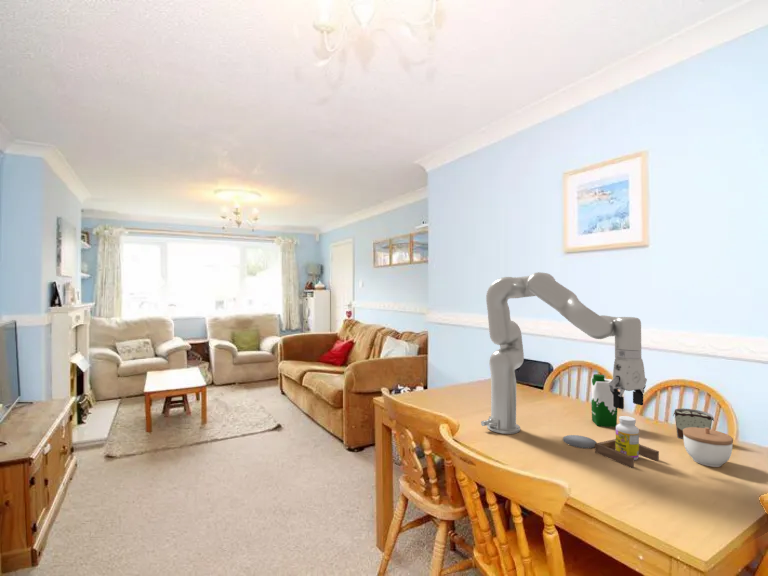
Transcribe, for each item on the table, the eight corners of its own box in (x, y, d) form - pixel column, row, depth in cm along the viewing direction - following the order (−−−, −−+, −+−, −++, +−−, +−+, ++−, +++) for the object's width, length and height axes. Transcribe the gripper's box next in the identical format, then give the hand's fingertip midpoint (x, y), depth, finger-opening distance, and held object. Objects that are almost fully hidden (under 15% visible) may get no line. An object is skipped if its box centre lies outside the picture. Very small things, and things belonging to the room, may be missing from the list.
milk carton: (589, 419, 170) (589, 372, 170) (612, 421, 168) (612, 373, 168) (595, 426, 161) (595, 377, 161) (620, 428, 160) (620, 378, 160)
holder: (631, 467, 125) (631, 458, 125) (594, 452, 136) (594, 443, 136) (658, 460, 130) (658, 451, 130) (621, 446, 142) (621, 437, 142)
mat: (581, 450, 138) (581, 448, 138) (556, 439, 148) (556, 437, 148) (604, 445, 142) (604, 443, 142) (577, 435, 152) (577, 433, 152)
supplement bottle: (610, 452, 136) (611, 415, 136) (629, 452, 137) (629, 414, 137) (624, 461, 129) (624, 421, 129) (643, 460, 130) (643, 421, 130)
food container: (708, 437, 151) (708, 410, 151) (714, 442, 145) (714, 415, 145) (669, 432, 156) (669, 406, 156) (672, 437, 150) (673, 410, 150)
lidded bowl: (736, 474, 121) (737, 438, 121) (684, 464, 127) (684, 430, 127) (728, 459, 131) (728, 425, 131) (680, 451, 138) (681, 418, 138)
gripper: (621, 358, 126) (621, 412, 126) (656, 354, 133) (656, 405, 133) (599, 354, 133) (600, 406, 133) (634, 351, 140) (634, 400, 140)
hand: (628, 406), depth 133 cm, fingers open, 9 cm apart
